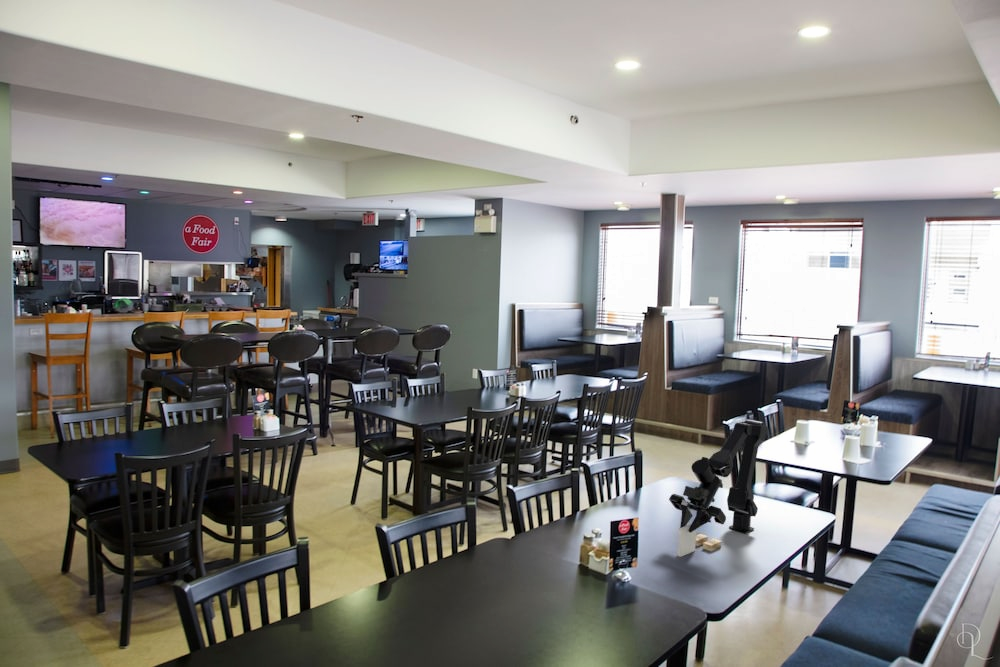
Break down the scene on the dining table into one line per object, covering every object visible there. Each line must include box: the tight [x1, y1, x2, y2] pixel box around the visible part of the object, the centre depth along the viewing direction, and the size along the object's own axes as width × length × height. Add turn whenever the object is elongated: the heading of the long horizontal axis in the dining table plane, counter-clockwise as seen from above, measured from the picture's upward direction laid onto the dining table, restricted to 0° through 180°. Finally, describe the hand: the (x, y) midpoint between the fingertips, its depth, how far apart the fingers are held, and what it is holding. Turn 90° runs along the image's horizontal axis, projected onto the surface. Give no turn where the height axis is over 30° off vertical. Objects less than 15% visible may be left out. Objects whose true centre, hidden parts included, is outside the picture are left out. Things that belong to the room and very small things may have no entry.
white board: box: [676, 523, 697, 558], centre depth 222 cm, size 8×1×9 cm, turn 130°
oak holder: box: [695, 533, 722, 552], centre depth 229 cm, size 6×8×2 cm
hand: (685, 530), depth 221 cm, fingers open, 3 cm apart
